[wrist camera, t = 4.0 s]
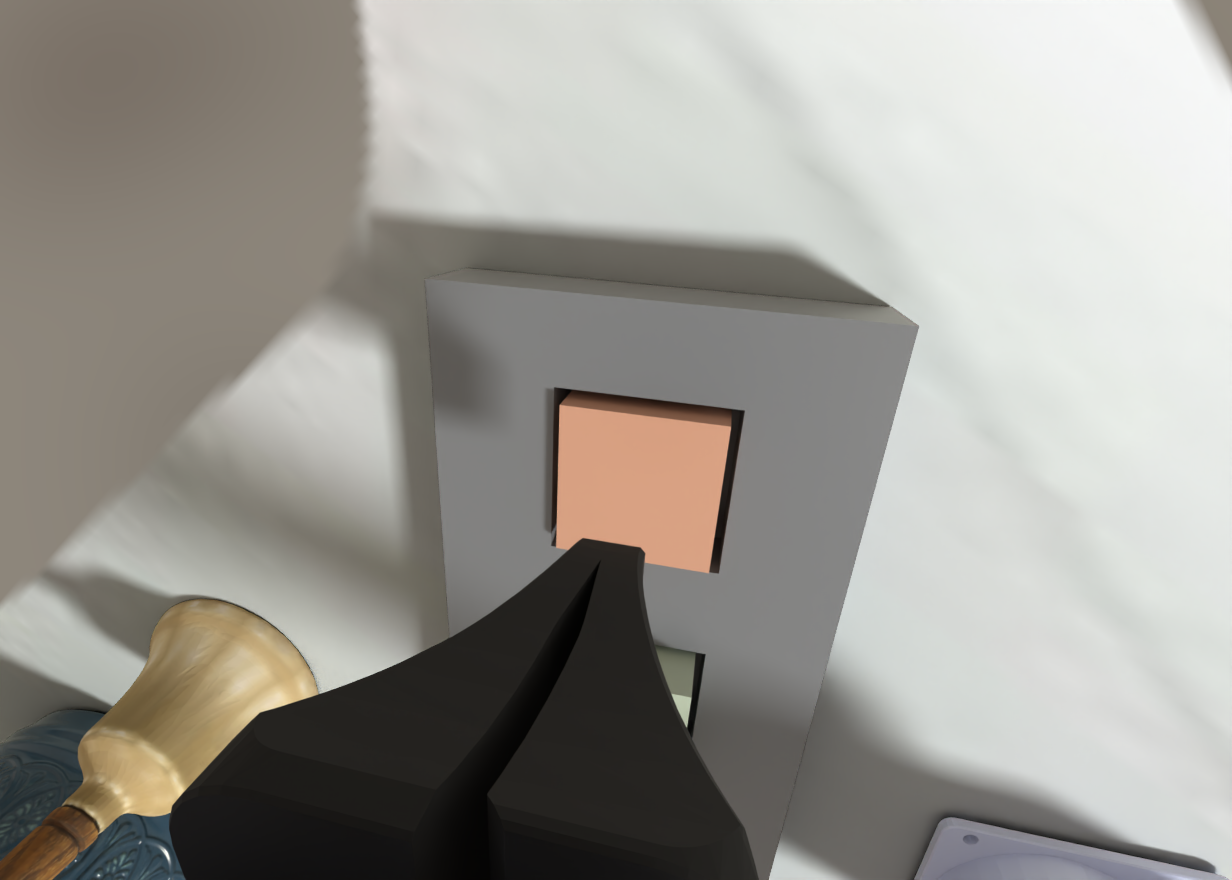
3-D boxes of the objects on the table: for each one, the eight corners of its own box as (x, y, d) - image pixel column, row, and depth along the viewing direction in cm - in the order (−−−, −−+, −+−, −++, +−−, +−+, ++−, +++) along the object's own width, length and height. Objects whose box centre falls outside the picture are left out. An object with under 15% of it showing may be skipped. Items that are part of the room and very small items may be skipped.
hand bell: (133, 589, 26) (-640, 1090, 11) (296, 608, 24) (-359, 1217, 10) (191, 725, 29) (-355, 1253, 14) (338, 750, 27) (-108, 1368, 13)
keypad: (892, 306, 15) (918, 326, 13) (744, 896, 26) (745, 964, 23) (466, 267, 17) (425, 278, 15) (489, 833, 27) (466, 890, 25)
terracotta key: (732, 398, 16) (731, 427, 14) (712, 531, 18) (708, 573, 16) (580, 380, 17) (559, 405, 15) (575, 510, 19) (556, 547, 17)
